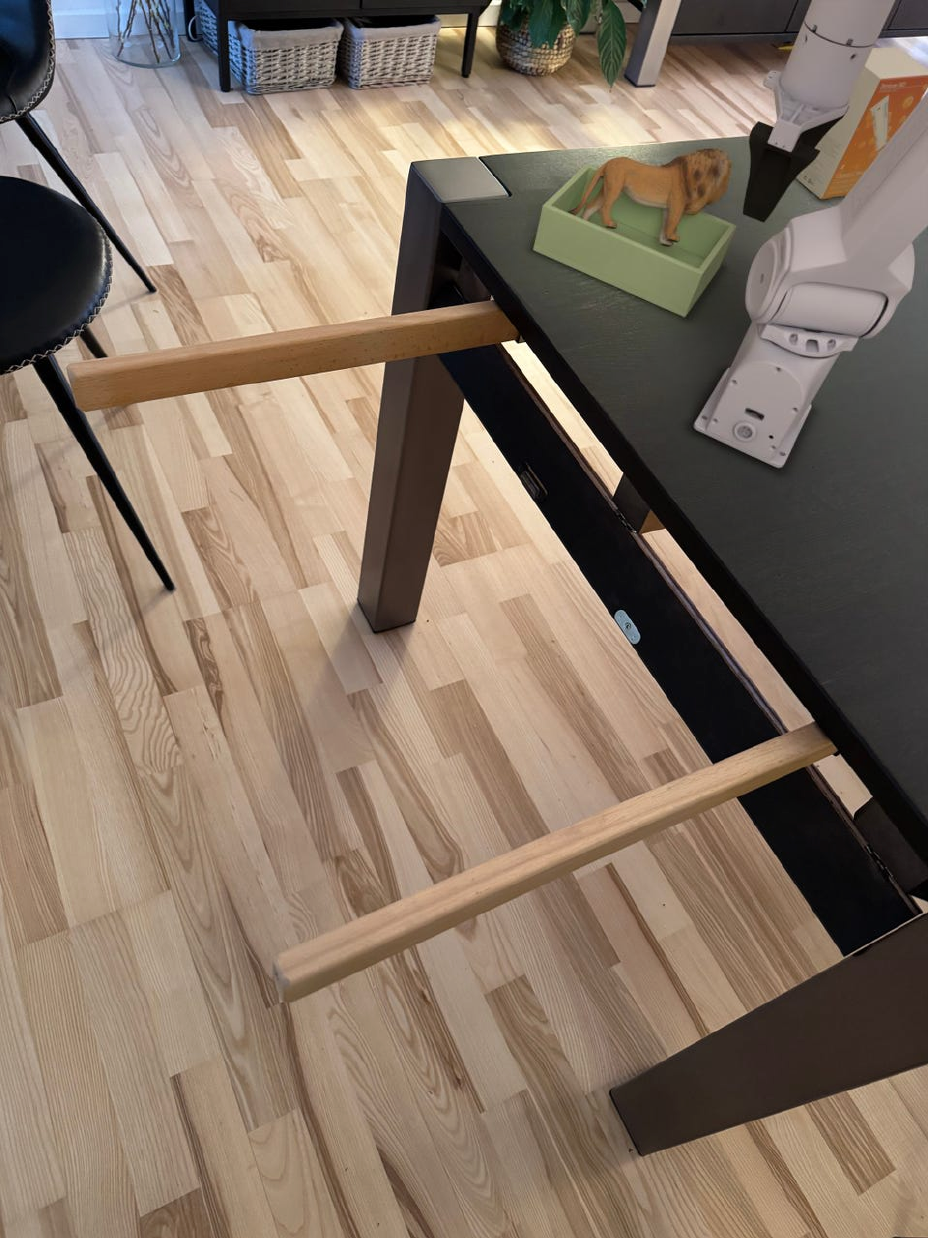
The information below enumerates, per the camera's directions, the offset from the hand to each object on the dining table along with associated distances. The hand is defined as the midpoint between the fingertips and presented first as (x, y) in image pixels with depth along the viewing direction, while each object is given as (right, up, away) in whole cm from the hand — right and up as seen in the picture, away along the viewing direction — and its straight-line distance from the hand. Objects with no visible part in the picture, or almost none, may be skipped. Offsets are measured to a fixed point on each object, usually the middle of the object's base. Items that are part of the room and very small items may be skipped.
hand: (766, 198), depth 80 cm
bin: (-11, -2, +8) cm, 14 cm away
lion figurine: (-10, -1, +7) cm, 12 cm away
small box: (+15, +13, +24) cm, 31 cm away
